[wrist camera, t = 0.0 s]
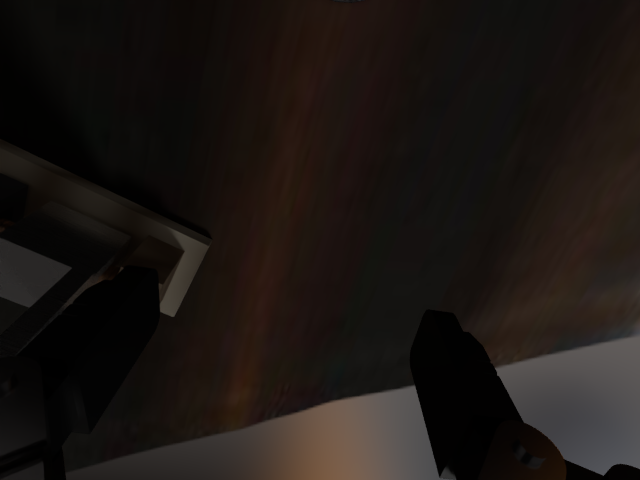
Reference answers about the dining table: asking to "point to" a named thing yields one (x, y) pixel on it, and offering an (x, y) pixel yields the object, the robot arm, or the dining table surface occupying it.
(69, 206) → the pipe stand
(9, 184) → the ring
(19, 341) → the grey l-shaped bracket
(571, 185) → the dining table surface
